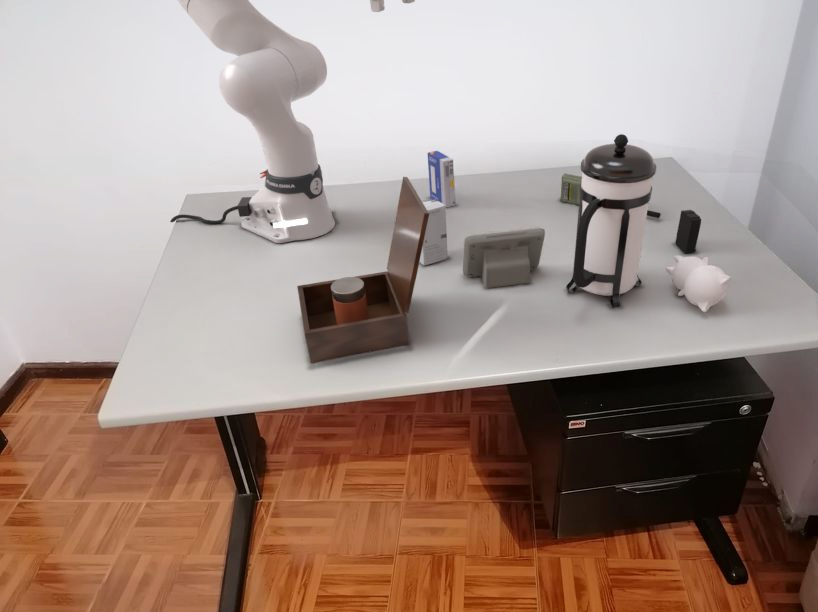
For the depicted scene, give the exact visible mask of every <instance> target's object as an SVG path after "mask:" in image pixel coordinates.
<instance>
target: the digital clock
mask: <svg viewBox="0 0 818 612" xmlns="http://www.w3.org/2000/svg"><path fill="white" fill-rule="evenodd" d="M545 237H546V231H545V229H544V228H543V227H539V226H530V227H521V228H512V229H503V230H494V231H483V232H476V233H470V234H467V236H466V237H464V241H463V255H462V257H463V258H462V274H463V275H464V276H465V277H467V278H476V277H480V278H481V280H482V283H483V285H484V287H485V288H486V289H490V288H498V287H499V288H500V287H505V286H506V287H508V286H515V285H522V284H529V283H530V271H533V270H536V269H537V268H538V267H539V266H540V265H539V264H540V261H541V256H542V250H543V246H544V241H545Z"/></svg>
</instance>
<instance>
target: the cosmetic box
mask: <svg viewBox="0 0 818 612" xmlns="http://www.w3.org/2000/svg"><path fill="white" fill-rule="evenodd" d="M422 202H423V204H424V206H425V208H426V209H427V211H428V213H429V218H428V222H427V227H426V232H425V237H424V242H423V246H422V251H421V256H420V261H419V264H421V265H422V266H429V265H432V264H436V263H438V262H442V261H445V260H447V259H448V258H449V257H448V255H449V254H448V231H447V207H446V206H445V205H444V204H442V203H440V202H439V201H437V200H433V199H432V200H428V201H422Z"/></svg>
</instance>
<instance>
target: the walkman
mask: <svg viewBox="0 0 818 612" xmlns="http://www.w3.org/2000/svg"><path fill="white" fill-rule="evenodd" d="M427 166H428V167H427V169H428V182H429V197H430V199H432V200H437V201H439V202H440V203H442V204H444V205H445V206H446V208H450V207H455V206H456V192H455V191H456V190H455V189H456V188H455V173H454V171H455V170H454V159H453V158H452V157H450V156H448V155H446V154H445V153H443V152H441V151H439V150H434V151H433V150H432V151H429V152H427Z"/></svg>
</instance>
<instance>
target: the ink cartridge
mask: <svg viewBox="0 0 818 612" xmlns="http://www.w3.org/2000/svg"><path fill="white" fill-rule="evenodd" d="M701 225H702V218H701V216H700V215H699V214H697V213H696V212H695V211H694V210H692V209H686V210H684V209H683V210H680V216H679V221H678V226H677V232H676V237H675V245H676V247H677V248H678V249H680V251H681V252H683V253H684V254H690V253H691V254H692V253H695V252H696V250H697V249H696V248H697V243H698V239H699V234H700V230H701Z"/></svg>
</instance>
